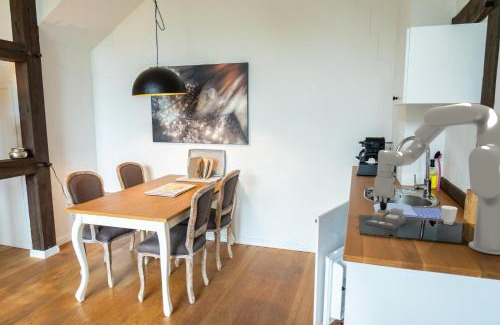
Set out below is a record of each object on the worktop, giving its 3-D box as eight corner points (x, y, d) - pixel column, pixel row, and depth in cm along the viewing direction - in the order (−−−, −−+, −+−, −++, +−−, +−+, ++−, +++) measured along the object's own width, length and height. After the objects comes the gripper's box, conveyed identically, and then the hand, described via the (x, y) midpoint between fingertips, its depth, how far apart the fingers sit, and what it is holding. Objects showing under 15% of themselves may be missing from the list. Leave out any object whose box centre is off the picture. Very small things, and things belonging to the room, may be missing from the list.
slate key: (403, 215, 161) (403, 209, 160) (400, 217, 157) (400, 211, 157) (393, 213, 164) (393, 208, 163) (390, 215, 160) (390, 209, 160)
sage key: (389, 215, 165) (389, 209, 165) (386, 217, 162) (386, 211, 161) (380, 213, 168) (380, 208, 168) (377, 215, 165) (377, 209, 164)
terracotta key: (385, 219, 161) (385, 213, 160) (382, 221, 157) (382, 215, 157) (376, 217, 164) (376, 211, 163) (372, 219, 160) (373, 213, 160)
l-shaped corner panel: (373, 205, 199) (374, 193, 198) (379, 201, 208) (379, 190, 207) (394, 208, 191) (394, 195, 190) (399, 204, 201) (399, 192, 200)
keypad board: (405, 222, 161) (405, 214, 161) (394, 230, 148) (394, 222, 148) (379, 217, 170) (379, 210, 169) (366, 224, 157) (366, 216, 157)
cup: (439, 224, 158) (440, 208, 157) (440, 219, 166) (441, 203, 166) (456, 226, 154) (457, 209, 153) (456, 221, 163) (457, 205, 162)
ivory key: (399, 221, 156) (399, 215, 156) (395, 223, 153) (396, 217, 153) (389, 219, 159) (389, 214, 159) (386, 221, 156) (386, 215, 156)
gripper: (403, 175, 161) (400, 211, 163) (373, 172, 170) (371, 205, 173) (398, 176, 155) (395, 213, 157) (367, 173, 165) (365, 208, 167)
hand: (383, 209), depth 165 cm, fingers closed
